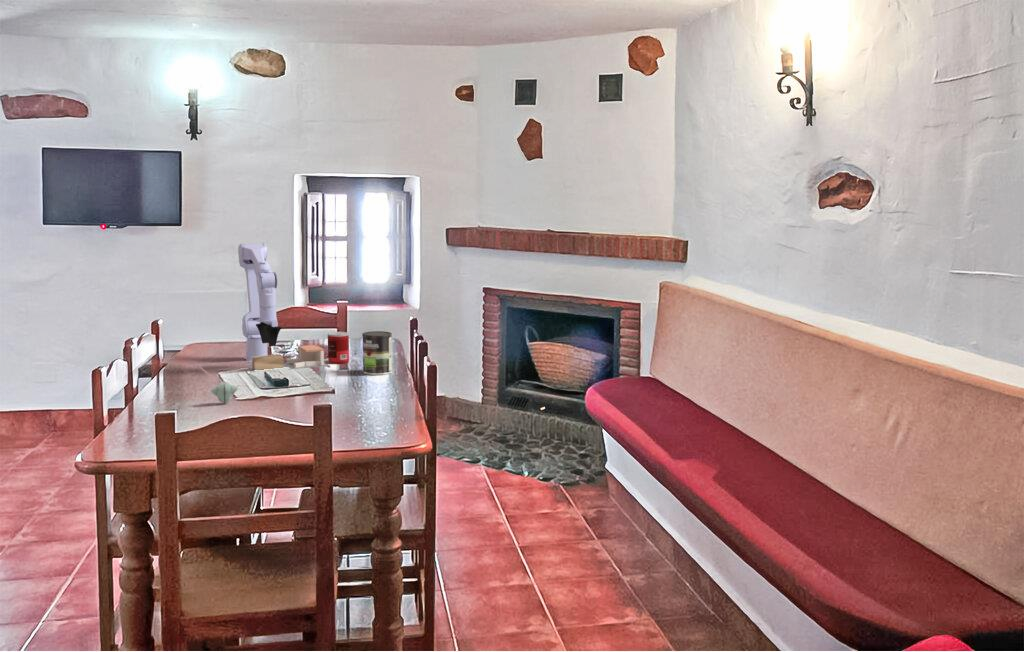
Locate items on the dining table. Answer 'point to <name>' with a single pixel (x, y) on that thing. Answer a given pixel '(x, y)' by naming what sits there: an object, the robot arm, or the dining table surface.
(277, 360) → the tan cardboard block
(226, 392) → the pale green angular piece
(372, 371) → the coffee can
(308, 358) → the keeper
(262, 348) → the robot arm
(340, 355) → the canned food
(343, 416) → the dining table surface
